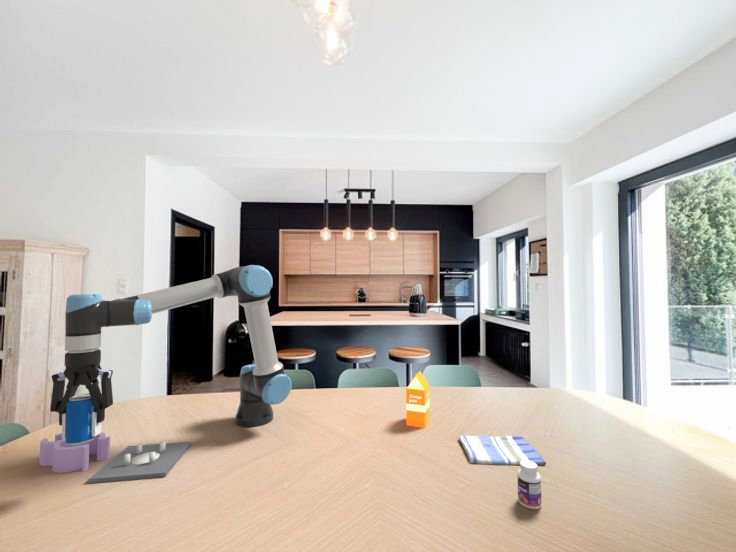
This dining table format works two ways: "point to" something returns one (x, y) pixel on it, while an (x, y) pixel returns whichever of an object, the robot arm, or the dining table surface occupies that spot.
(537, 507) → the pill bottle
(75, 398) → the beverage can
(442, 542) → the dining table surface
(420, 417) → the orange juice
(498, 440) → the dish towel
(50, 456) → the clip
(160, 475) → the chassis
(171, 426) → the dining table surface
